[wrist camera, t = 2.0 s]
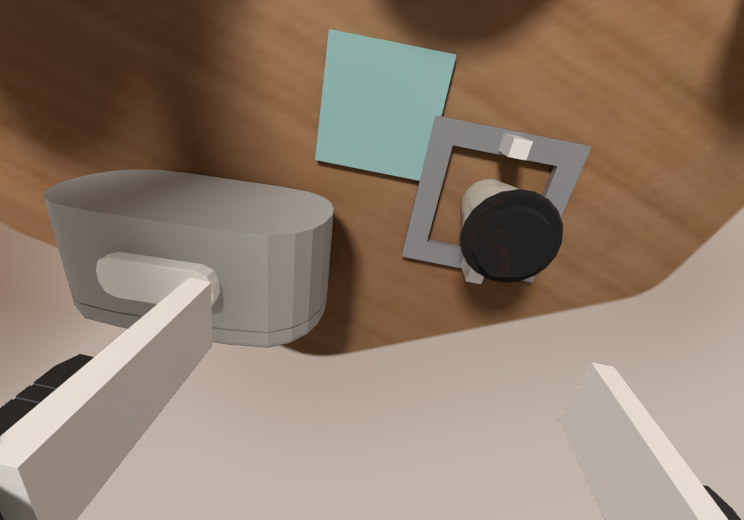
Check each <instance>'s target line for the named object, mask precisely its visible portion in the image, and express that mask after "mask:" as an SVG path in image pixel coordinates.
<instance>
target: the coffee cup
mask: <svg viewBox="0 0 744 520" xmlns="http://www.w3.org/2000/svg"><path fill="white" fill-rule="evenodd" d="M461 210H462V227H463V229H462V232H461V236H460V242H461V252H462V254H463V256H464V258H465V261H466V263H467V264H468V265H469V266H470V267H471V268H472V269H473V270H474V271H475V272H476V273H478V274H480V275H482V276H483V277H485V278H487V279H490V280H494V281H500V282H505V283H506V282H517V281H522V280H525V279H527V278H530V277H533V276H535V275H536V274H538V273H539V272H541V271H542V270H544V269H545V268H546V267H547V266H548V265H549V264H550V263H551V262H552V260H553V259H554V258H555V257H556V255H557V253H558V250H559V248H560V246H561V243H562V233H563V223H562V220H561V217H560V214H559V211H558V210H557V208H556V207H555V206H554V205H553V204H552V202H551V201H550V200H549V199H547V198H545V197H544V196H542V195H540V194H538V193H536V192H533V191H527V190H521V189H518V188H516V187H513V186H511V185H508V184H506V183H503V182H501V181H498V180H493V179H485V180H481V181H478V182H476V183H474V184H473V185H472V186H470V187H469V188H468V189H467V191H466V192H465V194H464V195H463V198H462V202H461Z"/></svg>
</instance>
